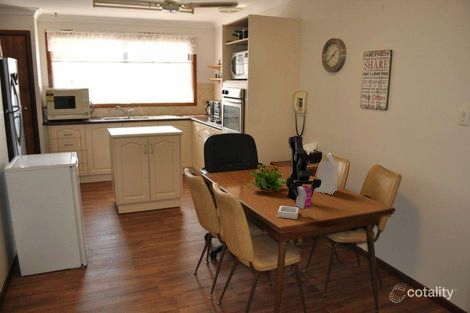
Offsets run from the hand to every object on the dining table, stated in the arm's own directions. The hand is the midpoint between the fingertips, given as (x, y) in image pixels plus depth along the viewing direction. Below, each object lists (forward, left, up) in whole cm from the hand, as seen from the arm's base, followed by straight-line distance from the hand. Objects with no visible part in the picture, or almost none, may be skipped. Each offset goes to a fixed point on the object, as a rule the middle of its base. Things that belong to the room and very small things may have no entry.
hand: (304, 196), depth 198 cm
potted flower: (-44, +23, -11) cm, 52 cm away
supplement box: (-1, +1, -7) cm, 7 cm away
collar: (-7, -4, -11) cm, 14 cm away
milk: (-17, +54, -11) cm, 58 cm away
